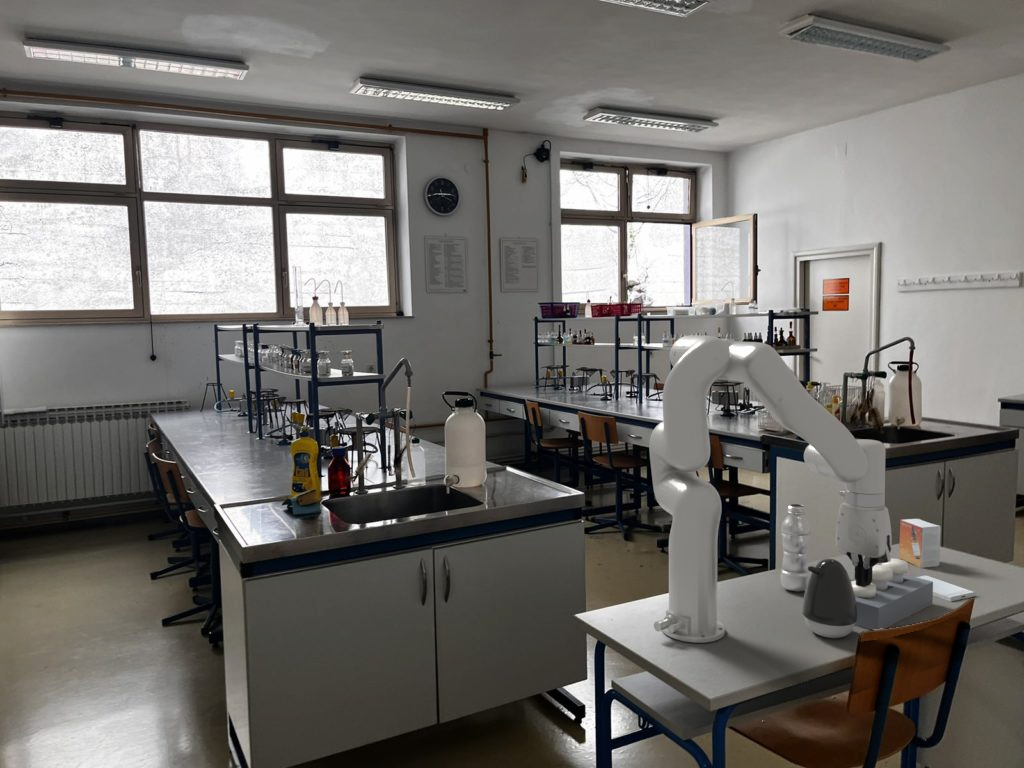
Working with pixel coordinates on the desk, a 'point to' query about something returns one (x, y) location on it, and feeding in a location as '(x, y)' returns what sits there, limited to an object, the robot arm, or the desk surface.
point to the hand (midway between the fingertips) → (863, 584)
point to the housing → (894, 603)
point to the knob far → (897, 569)
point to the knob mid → (881, 577)
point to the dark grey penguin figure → (829, 600)
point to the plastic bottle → (795, 549)
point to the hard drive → (948, 590)
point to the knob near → (864, 590)
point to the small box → (919, 542)
